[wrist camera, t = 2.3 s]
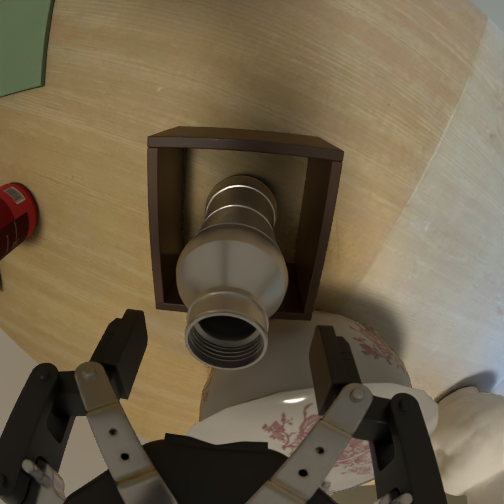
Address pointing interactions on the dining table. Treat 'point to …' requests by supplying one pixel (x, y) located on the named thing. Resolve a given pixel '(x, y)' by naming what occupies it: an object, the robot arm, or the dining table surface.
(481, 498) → the vase
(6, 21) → the mat
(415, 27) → the dining table surface
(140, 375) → the dining table surface
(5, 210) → the canned food
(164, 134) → the crate
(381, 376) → the chamber pot
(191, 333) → the plastic bottle
